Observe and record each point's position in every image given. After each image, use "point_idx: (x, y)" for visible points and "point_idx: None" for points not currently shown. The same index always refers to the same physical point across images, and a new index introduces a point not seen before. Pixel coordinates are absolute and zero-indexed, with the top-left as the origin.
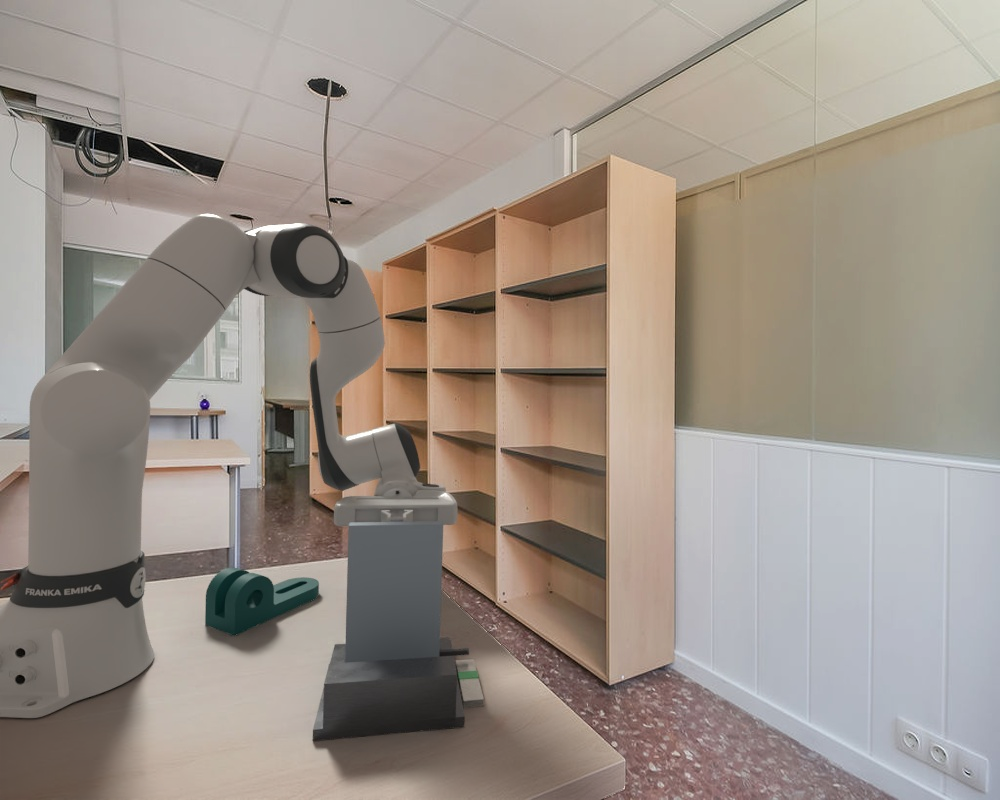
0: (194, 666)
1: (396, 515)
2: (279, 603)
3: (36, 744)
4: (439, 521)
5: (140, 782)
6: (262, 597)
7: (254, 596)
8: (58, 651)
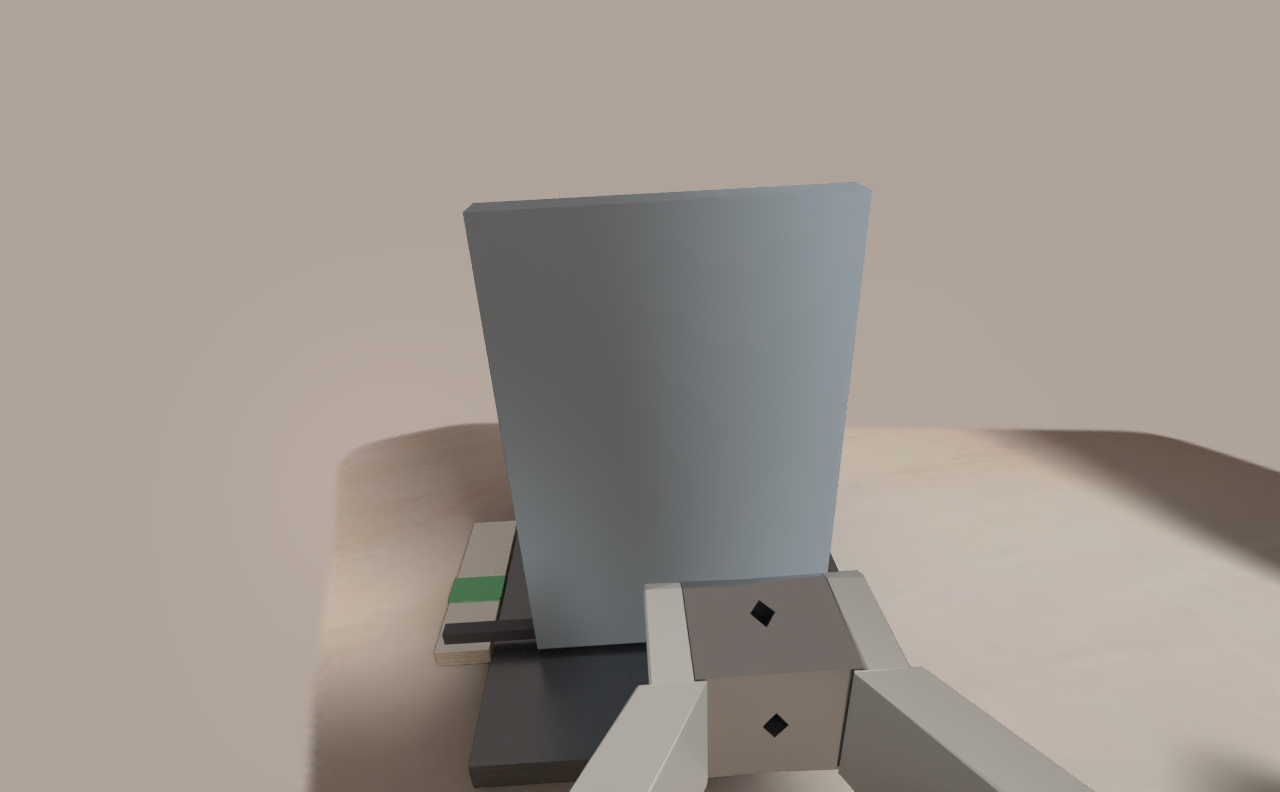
0: None
1: (774, 636)
2: None
3: (1268, 484)
4: (478, 210)
5: (990, 436)
6: None
7: None
8: None
